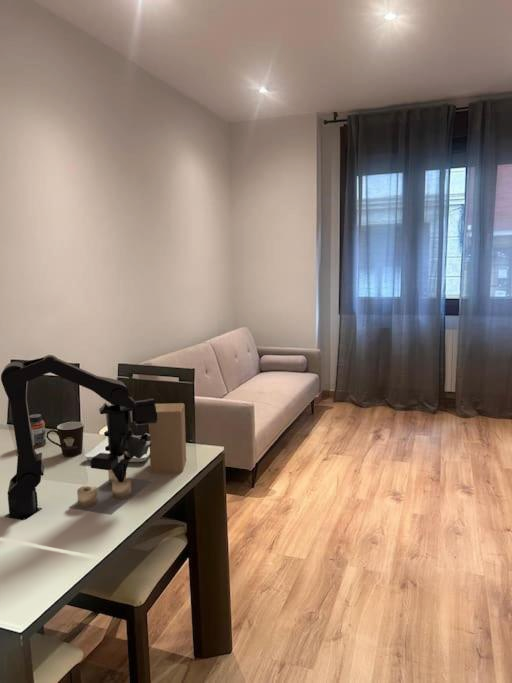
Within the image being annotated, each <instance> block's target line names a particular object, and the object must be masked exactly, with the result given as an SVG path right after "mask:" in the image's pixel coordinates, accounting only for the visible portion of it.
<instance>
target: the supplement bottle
mask: <svg viewBox="0 0 512 683" xmlns="http://www.w3.org/2000/svg"><path fill="white" fill-rule="evenodd" d="M29 418H30V425H31V433H32V440H33V447H34V449H38V448H42V447H44V446H45V445H46V444H47V439H46V438H47V437H46V435H47V434H46V426H45V425H46V423H45V421H44V420H43V419H42V414H40V413H39V414H38V413H35V414H31V415H30V414H29Z"/></svg>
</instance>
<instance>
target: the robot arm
mask: <svg viewBox="0 0 512 683" xmlns="http://www.w3.org/2000/svg"><path fill="white" fill-rule="evenodd" d="M3 368H4V369H3V371H2V373H1V374H0V380H1V385H2V386H3V389H4V392H5V394H6V396H7V399H8V401H9V403H10V411H11V417H12V424H13V430H14V431H13V432H14V436H15V437H14V438H15V443H16V444H15V445H16V452H17V462H16V472H15V473H16V474H15V475H14V476H13V477H11V478H10V480H9V484H8V490H7V502H8V504H7V505H8V514H6V515H5V516H4V518H9V519H14V520H20V521H26V520H27V519H29V518H31V517H32V516H34V515H36V514H37V513H38V512H40V511H42V509H43V508H42V507H38V506H39V503H38V492H37V487H38V485H40V484H41V481H42V477H43V476H44V472H45V465H44V463H43V461H42V458H43V453H42V452H39V453H37V452H36V450H35V448H34V447H33V440H32V433H31V425H30V418H29V416H30V414H29V405H28V404H29V403H28V400H27V399H28V397H27V396H28V385H29V384H28V382H30V381H32V380H35V379H37V378H39V377H42V376H44V375H46V374H47V375H48V374H53V375H55V376H57V377H60V378H62V379H65V380H67V381H69V382H72V383H74V384H76V385H78V386H81V387H83V388H85V389H87V390H90V391H92V392H94V393H95V394H97V395H98V396H99V397H100V398H102V399H103V400H105V401H106V402H108V403H109V404H110V405H109V404H107V403H106V402H104V403H103V405H101V407H100V408H99V409H98V411H99V414H101V415H106V422H107V423H106V424H107V430H106V431H105V432H103V433H104V437H108V446H106V447H105V451H110V453H109V454H107V453H99V454H98V455H96V456H94V457H93V458H92V459H91V460H89V461H90V465H89V466H90V469H94V470H95V469H96V470H103V471H108V470H112V471H113V473H114V475H115V476H116V478H117V479H118V481H119V482H123V481H124V478H125V474H126V475H127V470H128V465H129V463H130V462H129V461H130V460H131V459H132V458H133V457H134V456H135V457H136V458H141V457H142V456H143V455H145V454H147V451H148V448H149V447H150V446H151V445H152V444H151V437H150V435H149V433H147V432H145V433H144V434H143V435H135V434H134V429H133V428H130V421H131V423H134V424H135V425H136V426H141V425H149V424H150V423H157V412H156V406H155V404H156V403H155V402H156V401H155V399H154V398H147V399H141V400H134V398H133V396H131V395H129V394H130V393H129V389H128V388H127V386H126V385H125V383H124V382H122V381H121V380H118V379H114V378H111V377H106V376H99V375H96V374H94V373H91V372H89V371H87V370H84V369H82V368H80V367H79V366H76V365H73V364H71V363H69V362H67V361H65V360H63V359H60V358H58V357H57V356H55V355H52V354H48V355H45V356H43V357H40V358H35V359H30V360H27V361H24V362H20V361H12V362H9V363H8V364H6V366H5V367H3ZM120 405H121V406H120ZM129 414H130V415H129ZM140 436H141V437H140Z"/></svg>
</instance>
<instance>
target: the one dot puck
mask: <svg viewBox="0 0 512 683" xmlns="http://www.w3.org/2000/svg"><path fill="white" fill-rule="evenodd" d="M97 488H98V486H96V485H93V484H92V485H91V484H90V485H89V484H88V485H84V486H81V487H78V489H77V490H76V492H77V501H78V506H79V507H81V508H89V507H92V506H95V505H96V504H97V503H98V497H97Z"/></svg>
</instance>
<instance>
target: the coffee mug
mask: <svg viewBox="0 0 512 683" xmlns="http://www.w3.org/2000/svg"><path fill="white" fill-rule="evenodd" d="M84 426H85V424H84V423H83V422H80V421H68V422H64V423H60V424H58V425H57V426H56V429H50V430H48V431H47V433H46V434H45V435H46V438H47V439H46V440H48V441H49V442H50V443H52V444H53V445H56V446H58V447H59V448H60V450H61V455H62V456H63V457H66V458H71V457H77V456H80V455H81V454H82V453H83V441H84ZM52 432H53V433H55V434H56V435H57V436H58V439H59V443H58V442H56V441H54V440H52V439H51V438H50V437H49V434H50V433H52Z"/></svg>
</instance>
